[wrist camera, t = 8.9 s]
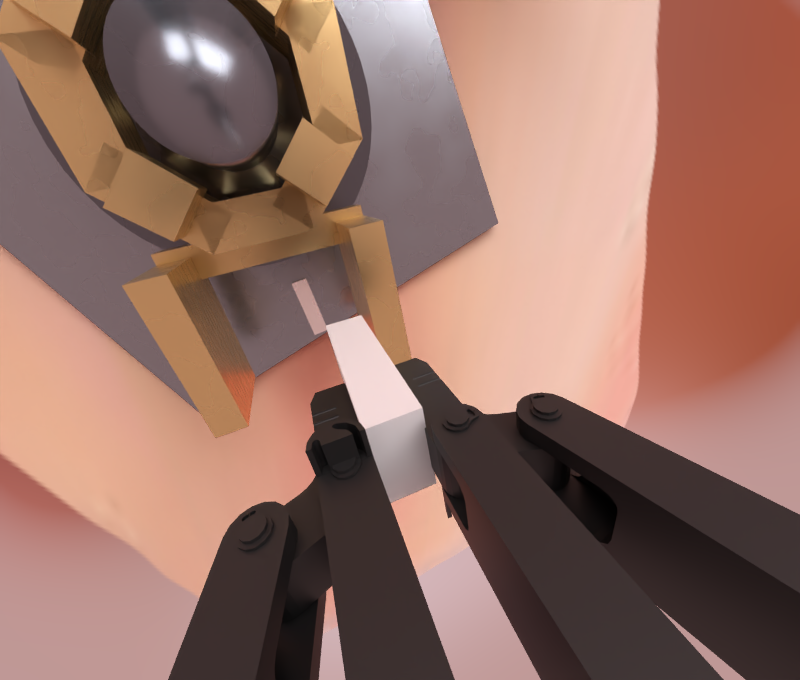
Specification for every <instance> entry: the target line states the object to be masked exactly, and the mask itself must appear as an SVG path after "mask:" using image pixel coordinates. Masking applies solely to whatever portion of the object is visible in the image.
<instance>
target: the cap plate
mask: <svg viewBox="0 0 800 680" xmlns="http://www.w3.org/2000/svg"><path fill="white" fill-rule="evenodd" d="M3 1H4V0H0V11H1V7H2V4H3ZM333 1H334V5H335V10H336V14H337V19H338V24H339V29H340V33H341V38H342V43H343V48H344V52H345V57H346V62H347V67H348V71H349V76H350V81H351V86H352V91H353V95H354V100H355V105H356V110H357V114H358V119H359V124H360V129H361V133H362V138H363V140H362V141H361V143H360V145H359V146H358V148H357V150H356V152H355V154H354V157H353V159H352V161H351V162H350V164H349V166H348V168H347V170H346V172H345V174H344V176H343V178H342V179H341V181H340V183H339V185H338V187H337V189H336V191H335V193H334V194H333V196H332V198H331V200H330V202H329V204H328V206H327V207H326V209H325V211H324V212H326V211H330V210H334V209H339V208H343V207H347V206H351V205H361V209H362V213H363V215H364V216H368V217H372V218H376V219H380V220H383V223H384V228H385V232H386V237H387V242H388V247H389V252H390V257H391V262H392V266H393V271H394V276H395V281H396V286H397V287H398V286H400V285H402V284H403V283H405V282H406V281H408V280H410V279H411V278H413V277H414V276H416V275H417V274H419V273H421V272H422V271H424V270H425V269H427V268H428V267H430V266H432V265H433V264H435V263H436V262H438V261H439V260H441V259H443V258H444V257H446V256H447V255H449V254H450V253H452V252H454V251H455V250H457V249H458V248H460V247H461V246H463V245H465V244H466V243H468V242H469V241H471V240H472V239H474V238H476V237H477V236H479V235H480V234H482V233H483V232H485V231H487V230H488V229H490V228H491V227H493V226H494V225H496V224H498V220H497V217H496V214H495V211H494V208H493V205H492V201H491V198H490V195H489V192H488V189H487V186H486V183H485V179H484V176H483V173H482V170H481V167H480V164H479V160H478V157H477V154H476V151H475V148H474V145H473V142H472V138H471V135H470V132H469V129H468V126H467V123H466V119H465V116H464V113H463V110H462V107H461V104H460V101H459V97H458V94H457V91H456V88H455V85H454V82H453V78H452V75H451V72H450V69H449V66H448V63H447V60H446V56H445V53H444V50H443V47H442V44H441V41H440V37H439V34H438V31H437V28H436V25H435V22H434V19H433V15H432V12H431V9H430V6H429V3H428V0H333ZM103 51H104V58H105V63H106V67H107V71H108V74H109V77H110V80H111V82H112V84H113V87H114V89H115V91H116V93H117V95H118V97H119V98H120V100H121V102H122V104H123V105H124V107H125V108H126V109H127V111H128V112H129V114H130V116H131V118H132V120H133V122H134V125H135V127H136V129H137V131H138V133H139V135H140V137H141V139H142V141H143V143H144V145H145V147H146V149H147V152H148V154H149V156H150V157H152V158H154V159H156V160H157V161H159V162H161V163H163V164H164V165H166V166H168V167H170V168H171V169H173V170H175V171H177V172H178V173H180V174H182V175H184V176H185V177H187V178H189V179H191V180H192V181H194V182H196V183H198V184H199V185H201V186H203V187H205V188H206V189H207V191H206V193H207V194H209V195H211V196H212V197H214V198H216V199H218V200H219V201H223V200H228V199H232V198H237V197H242V196H246V195H251V194H256V193H260V192H265V191H270V190H274V189H279V188H282V186H283V184H284V182H285V180H283V179H282V178H280V177H279V176H277V175H276V171H277V169H278V167H279V165H280V163H281V161H282V159H283V157H284V155H285V153H286V151H287V149H288V147H289V144H290V142H291V140H292V138H293V136H294V134H295V132H296V130H297V128H298V126H299V124H300V122H301V120H302V118H304V117H303V113H302V110H301V106H300V103H299V99H298V95H297V92H296V88H295V84H294V81H293V77H292V73H291V70H290V66H289V63H288V59H286V58H285V57H284V56H283V55H282V54H281V53H279V52H278V51H277V50H276V49H275V48H273V47H272V46H271V45H270V44H269V43H267V42H266V41H265V40H264V39H263V38H261V37H260V36H259V35H258V34H257V33H256V31H255V30H254V29H253V27H252V26H251V25H250V23H249V22H248V21H247V19H246V18H245V17H244V16H243V15H242V14H241V13H240V12H239V11H238V10H237V9H236V8H235V7H234V6H233V5H232V4H231V3H230V2H229V1H227V0H114V1H113V3H112V4H111V6H110V9H109V11H108V13H107V16H106V20H105V24H104V30H103ZM104 203H105V202H104V201H102V200H99V199H97V198H95V197H93V196H91V195H89V194H87V193H85V192H84V190H83V188H82V186H81V185H80V183H79V181H78V180H77V178H76V176H75V175H74V173H73V171H72V169H71V168H70V166H69V164H68V163H67V161H66V159H65V158H64V156H63V154H62V152H61V151H60V149H59V147H58V146H57V144H56V142H55V141H54V139H53V137H52V136H51V134H50V132H49V130H48V129H47V127H46V125H45V124H44V122H43V120H42V119H41V117H40V115H39V113H38V112H37V110H36V108H35V107H34V105H33V103H32V102H31V100H30V98H29V96H28V95H27V93H26V91H25V90H24V88H23V86H22V85H21V83H20V81H19V79H18V78H17V76H16V74H15V73H14V71H13V69H12V68H11V66H10V64H9V62H8V61H7V59H6V57H5V56H4V54H3V52H2V51H1V49H0V244H1V245H2V246H3V247H4V248H5V249H6V250H8V251H9V252H10V253H11V254H12V255H14V256H15V257H16V258H17V259H18V260H20V261H21V262H22V263H23V264H24V265H25V266H27V267H28V268H29V269H30V270H31V271H33V272H34V273H35V274H36V275H37V276H38V277H40V278H41V279H42V280H43V281H44V282H46V283H47V284H48V285H49V286H50V287H51V288H53V289H54V290H55V291H56V292H57V293H59V294H60V295H61V296H62V297H63V298H64V299H66V300H67V301H68V302H69V303H70V304H72V305H73V306H74V307H75V308H76V309H77V310H79V311H80V312H81V313H82V314H83V315H85V316H86V317H87V318H88V319H89V320H91V321H92V322H93V323H94V324H95V325H96V326H98V327H99V328H100V329H101V330H102V331H104V332H105V333H106V334H107V335H108V336H109V337H111V338H112V339H113V340H114V341H115V342H117V343H118V344H119V345H120V346H121V347H122V348H124V349H125V350H126V351H127V352H128V353H130V354H131V355H132V356H133V357H134V358H135V359H137V360H138V361H139V362H140V363H141V364H143V365H144V366H145V367H146V368H147V369H149V370H150V371H151V372H152V373H153V374H154V375H156V376H157V377H158V378H159V379H160V380H162V381H163V382H164V383H165V384H166V385H167V386H169V387H170V388H171V389H172V390H173V391H175V392H176V393H177V394H178V395H179V396H180V397H182V398H183V399H184V400H185V401H186V402H188V403H189V404H190V405H191V406H192V407H193V408H195V409H196V410H197V411H198V412H199V410H198V409H197V407H196V406H195V404H194V402H193V401H192V399H191V397H190V396H189V394H188V393H187V391H186V389H185V388H184V386H183V384H182V383H181V381H180V380H179V378H178V376H177V375H176V373H175V371H174V370H173V368H172V367H171V365H170V363H169V362H168V360H167V358H166V357H165V355H164V354H163V352H162V350H161V349H160V347H159V345H158V344H157V342H156V341H155V339H154V337H153V336H152V334H151V333H150V331H149V329H148V328H147V326H146V324H145V323H144V321H143V320H142V318H141V316H140V315H139V313H138V311H137V310H136V308H135V307H134V305H133V303H132V302H131V300H130V298H129V297H128V295H127V294H126V292H125V290H124V289H123V287H122V285H124V284H125V283H127V282H129V281H131V280H132V279H134V278H136V277H138V276H139V275H141V274H143V273H144V272H146V271H148V270H150V269H151V268H153V267H155V266H156V264H155V262H154V261H153V259H152V257H151V254H153V253H155V252H158V251H161V250H165V249H169V248H173V247H178V246H182V245H186V244H190V243H188V242H186V241H184V240H182V239H179V240H177V241H175V242H173V241H171V240H169V239H167V238H165V237H163V236H161V235H158V234H156V233H154V232H152V231H150V230H148V229H146V228H144V227H142V226H140V225H138V224H136V223H133V222H131V221H129V220H127V219H125V218H123V217H121V216H119V215H117V214H115V213H113V212H111V211H108V210H106V209H104V208H103V206H104ZM209 280H210V282H211V285H212V287H213V289H214V291H215V293H216V295H217V297H218V299H219V301H220V303H221V305H222V307H223V310H224V312H225V314H226V316H227V318H228V320H229V322H230V324H231V326H232V328H233V330H234V332H235V334H236V337H237V339H238V341H239V343H240V345H241V347H242V349H243V351H244V353H245V355H246V357H247V359H248V361H249V364H250V366H251V368H252V370H253V372H254V374H255V377H257V376H258V375H260V374H262V373H263V372H265V371H266V370H268V369H269V368H271V367H273V366H274V365H276V364H277V363H279V362H280V361H282V360H284V359H285V358H287V357H288V356H290V355H291V354H293V353H295V352H296V351H298V350H299V349H301V348H302V347H304V346H306V345H307V344H309V343H310V342H312V341H314V340H315V339H317V338H318V337H320V336H321V335H323V334H325V333H326V332H327V329H326V325H330V324H333V323H336V322H340V321H343V320H346V319H348V318H350V317H351V316H353V315H354V314H356V313H357V310H356V306H355V302H354V299H353V295H352V291H351V288H350V284H349V281H348V277H347V273H346V270H345V266H344V262H343V259H342V255H341V251H340V248H339V244H337V245H333V246H329V247H325V248H322V249H318V250H314V251H310V252H306V253H302V254H298V255H295V256H291V257H287V258H283V259H279V260H275V261H271V262H268V263H264V264H260V265H256V266H252V267H248V268H244V269H240V270H237V271H233V272H229V273H225V274H221V275H217V276H213V277H210V278H209ZM199 413H200V412H199Z"/></svg>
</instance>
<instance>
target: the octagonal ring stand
mask: <svg viewBox="0 0 800 680" xmlns="http://www.w3.org/2000/svg"><path fill="white" fill-rule="evenodd" d="M113 1H114V0H4V1H3V4H2V7H1V11H0V49H1V51H2V52H3V54H4V56H5V57H6V59H7V61H8V62H9V64H10V66H11V68H12V69H13V71H14V73H15V74H16V76H17V78H18V79H19V81H20V83H21V85H22V86H23V88H24V90H25V91H26V93H27V95H28V96H29V98H30V100H31V102H32V103H33V105H34V107H35V108H36V110H37V112H38V113H39V115H40V117H41V119H42V120H43V122H44V124H45V125H46V127H47V129H48V130H49V132H50V134H51V136H52V137H53V139H54V141H55V142H56V144H57V146H58V147H59V149H60V151H61V152H62V154H63V156H64V158H65V159H66V161H67V163H68V164H69V166H70V168H71V169H72V171H73V173H74V175H75V176H76V178H77V180H78V181H79V183H80V185H81V186H82V188H83V190H84V192H85V193H87V194H89V195H91V196H93V197H95V198H97V199H99V200H102V201H104V202H105V203H104V206H103V208H104V209H106V210H108V211H111V212H113V213H115V214H117V215H119V216H121V217H123V218H125V219H127V220H129V221H131V222H133V223H136V224H138V225H140V226H142V227H144V228H146V229H148V230H150V231H152V232H154V233H156V234H158V235H161V236H163V237H165V238H167V239H169V240H171V241H173V242H175V241H177V240H179V239H182V240H184V241H186V242H188V243H190V244H186V245H182V246H178V247H173V248H169V249H165V250H161V251H158V252H155V253H153V254H151V257H152V259H153V261H154V262H155V264H156V266H155V267H153V268H151V269H150V270H148V271H146V272H144V273H143V274H141V275H139V276H138V277H136V278H134V279H132V280H131V281H129V282H127V283H125V284H124V285H122V287H123V289H124V290H125V292H126V294H127V295H128V297H129V298H130V300H131V302H132V303H133V305H134V307H135V308H136V310H137V311H138V313H139V315H140V316H141V318H142V320H143V321H144V323H145V324H146V326H147V328H148V329H149V331H150V333H151V334H152V336H153V337H154V339H155V341H156V342H157V344H158V345H159V347H160V349H161V350H162V352H163V354H164V355H165V357H166V358H167V360H168V362H169V363H170V365H171V367H172V368H173V370H174V371H175V373H176V375H177V376H178V378H179V380H180V381H181V383H182V384H183V386H184V388H185V389H186V391H187V393H188V394H189V396H190V397H191V399H192V401H193V402H194V404H195V406H196V407H197V409H198V410H199V412H200V414H201V415H202V417H203V419H204V420H205V422H206V423H207V425H208V427H209V428H210V430H211V432H212V433H213V435H214V436H215V438H217V437H220V436H223V435H225V434H228V433H231V432H234V431H237V430H239V429H242V428H245V427H248V426H249V419H250V411H251V404H252V396H253V389H254V381H255V374H254V372H253V370H252V368H251V366H250V364H249V361H248V359H247V357H246V355H245V353H244V351H243V349H242V347H241V345H240V343H239V341H238V339H237V337H236V334H235V332H234V330H233V328H232V326H231V324H230V322H229V320H228V318H227V316H226V314H225V312H224V310H223V307H222V305H221V303H220V301H219V299H218V297H217V295H216V293H215V291H214V289H213V287H212V285H211V282H210V280H209V278H210V277H213V276H217V275H221V274H225V273H229V272H233V271H237V270H240V269H244V268H248V267H252V266H256V265H260V264H264V263H268V262H271V261H275V260H279V259H283V258H287V257H291V256H295V255H298V254H302V253H306V252H310V251H314V250H318V249H322V248H325V247H329V246H333V245H337V244H339V248H340V251H341V255H342V259H343V262H344V266H345V270H346V273H347V277H348V281H349V284H350V288H351V291H352V295H353V299H354V302H355V306H356V310H357V313H358V316H360V315H362V317H363V319H364V320H365V322H366V323H367V325H368V326H369V328H370V329H371V331H372V332H373V334H374V335H375V337H376V338H377V340H378V341H379V343H380V344H381V346H382V347H383V349H384V350H385V352H386V353H387V355H388V356H389V358H390V359H391V361H392V362H393V364H394V365H396V364H399V363H402V362H405V361H408V360H411V354H410V349H409V344H408V339H407V335H406V330H405V325H404V320H403V315H402V310H401V305H400V301H399V296H398V291H397V286H396V281H395V276H394V271H393V266H392V262H391V257H390V252H389V247H388V242H387V237H386V232H385V228H384V223H383V220H380V219H376V218H372V217H368V216H364V215H363V213H362V209H361V205H351V206H347V207H343V208H339V209H334V210H330V211H326V212H324V211H325V209H326V207H327V206H328V204H329V202H330V200H331V198H332V196H333V194H334V193H335V191H336V189H337V187H338V185H339V183H340V181H341V179H342V178H343V176H344V174H345V172H346V170H347V168H348V166H349V164H350V162H351V161H352V159H353V157H354V154H355V152H356V150H357V148H358V146H359V145H360V143H361V141H362V140H363V138H362V133H361V129H360V124H359V119H358V114H357V110H356V105H355V100H354V95H353V91H352V86H351V81H350V76H349V71H348V67H347V62H346V57H345V52H344V48H343V43H342V38H341V33H340V29H339V24H338V19H337V14H336V10H335V5H334V1H333V0H227V1H229V2H230V3H231V4H232V5H233V6H234V7H235V8H236V9H237V10H238V11H239V12H240V13H241V14H242V15H243V16H244V17H245V18H246V19H247V21H248V22H249V23H250V25H251V26H252V27H253V29H254V30H255V31H256V33H257V34H258V35H259V36H260V37H261V38H263V39H264V40H265V41H266V42H267V43H269V44H270V45H271V46H272V47H273V48H275V49H276V50H277V51H278V52H279V53H281V54H282V55H283V56H284V57H285V58H286V59H288V63H289V66H290V70H291V73H292V77H293V81H294V84H295V88H296V92H297V95H298V99H299V103H300V106H301V110H302V113H303V117H304V118H302V120H301V122H300V124H299V126H298V128H297V130H296V132H295V134H294V136H293V138H292V140H291V142H290V144H289V147H288V149H287V151H286V153H285V155H284V157H283V159H282V161H281V163H280V165H279V167H278V169H277V171H276V175H277V176H279V177H280V178H282V179H283V180H285V182H284V184H283V186H282V188H279V189H274V190H270V191H265V192H260V193H256V194H251V195H246V196H242V197H237V198H232V199H228V200H223V201H219V200H218V199H216V198H214V197H212V196H211V195H209V194H207V193H206V191H207V189H206V188H205V187H203V186H201V185H199V184H198V183H196V182H194V181H192V180H191V179H189V178H187V177H185V176H184V175H182V174H180V173H178V172H177V171H175V170H173V169H171V168H170V167H168V166H166V165H164V164H163V163H161V162H159V161H157V160H156V159H154V158H152V157H150V156H149V154H148V152H147V149H146V147H145V145H144V143H143V141H142V139H141V137H140V135H139V133H138V131H137V129H136V127H135V125H134V122H133V120H132V118H131V116H130V114H129V112H128V111H127V109H126V108H125V107H124V105H123V104H122V102H121V100H120V98H119V97H118V95H117V93H116V91H115V89H114V87H113V84H112V82H111V80H110V77H109V74H108V71H107V67H106V63H105V58H104V51H103V30H104V24H105V20H106V16H107V13H108V11H109V9H110V6H111V4H112V3H113Z"/></svg>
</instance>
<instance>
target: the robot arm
mask: <svg viewBox="0 0 800 680" xmlns="http://www.w3.org/2000/svg"><path fill="white" fill-rule="evenodd" d="M326 329H327V332H328V335H329V338H330V341H331V344H332V348H333V351H334V354H335V357H336V360H337V363H338V366H339V370H340V373H341V376H342V379H343V382H344V383H343V384H341V385H338V386H335V387H332V388H329V389H326V390H323V391H320V392H317V393H315V395H314V397H313V400H312V402H311V404H310V405H311V411H312V416H313V417H312V418H313V424H314V431H315V432H314V433H313V434H312V436H311V437H310V439H309V440H308V442H307V446H306V454H307V456H308V458H309V461H310V463H311V465H312V467H313V470H314V472H315V474H316V476H315V478H314V480H313V482H312V483H311V484H310V485H309V486H308V488H307V489H306V490H304V491H303V492H302V493H301V494H300V495H298V496H297V497H296V498H294V499H293V500H291V501H290V502H289V503H287V504H286V505H284V506H283V505H281V504H279V503H277V502H263V503H260V504H258V505H255V506H252V507H251V508H249V509H248V510H246V511H245V512H243V513H242V514H240V515H239V516H238V518H237V519H236V520H235V521H234V522H233V523H232V524H231V525H230V526H229V528H228V530H227V532H226V533H225V535H224V537H223V539H222V541H221V544H220V546H219V549H218V552H217V554H216V557H215V559H214V562H213V565H212V567H211V570H210V572H209V575H208V578H207V580H206V583H205V585H204V588H203V591H202V593H201V596H200V598H199V601H198V604H197V606H196V609H195V612H194V614H193V617H192V619H191V622H190V624H189V627H188V630H187V632H186V635H185V637H184V640H183V642H182V645H181V648H180V650H179V653H178V656H177V658H176V661H175V663H174V666H173V669H172V671H171V674H170V676H169V679H168V680H318V679H319V668H320V656H321V646H322V635H323V624H324V613H325V602H326V591H327V590H328V589H329V588H330V587H331V586H333V593H334V601H335V608H336V615H337V622H338V628H339V636H340V642H341V650H342V657H343V664H344V671H345V678H346V680H455V679H454V677H453V674H452V671H451V669H450V666H449V663H448V660H447V657H446V655H445V652H444V649H443V646H442V644H441V641H440V638H439V636H438V633H437V630H436V628H435V624H434V622H433V619H432V616H431V613H430V611H429V608H428V605H427V602H426V599H425V597H424V594H423V591H422V589H421V586H420V583H419V581H418V577H417V575H416V572H415V569H414V566H413V564H412V561H411V558H410V555H409V553H408V550H407V547H406V544H405V542H404V539H403V536H402V533H401V531H400V528H399V525H398V522H397V520H396V517H395V514H394V511H393V509H392V506H391V503H392V502H394V501H396V500H399V499H401V498H403V497H406V496H408V495H410V494H413V493H415V492H417V491H419V490H422V489H424V488H426V487H429V486H431V485H433V484H436V478H435V474H436V476H437V477H438V479H439V481H440V483H441V485H442V490H443V496H444V501H445V507H446V512H447V515H448V518H450V517H452V514H453V516H454V518H455V520H456V521H457V523H458V525H459V527H460V529H461V531H462V533H463V535H464V536H465V538H466V540H467V542H468V544H469V546H470V547H471V550H472V551H473V553H474V555H475V557H476V559H477V561H478V563H479V565H480V566H481V568H482V570H483V572H484V574H485V576H486V578H487V580H488V581H489V583H490V585H491V587H492V589H493V591H494V593H495V594H496V596H497V598H498V600H499V602H500V604H501V606H502V607H503V609H504V611H505V613H506V615H507V617H508V619H509V620H510V623H511V624H512V626H513V628H514V630H515V632H516V634H517V636H518V638H519V639H520V641H521V643H522V645H523V647H524V649H525V650H526V653H527V654H528V656H529V658H530V660H531V661H532V664H533V666H534V667H535V669H536V671H537V673H538V675H539V677H540V679H541V680H723V679H722V678H721V676H720V675H719V674H718V673H717V672H716V671H715V670H714V669H713V667H711V666H710V664H709V663H708V662H707V661H706V660H705V659H704V658H703V657H702V655H701V654H700V653H699V652H698V651H697V650H696V649H695V648H694V647H693V645H692V644H691V643H690V642H689V641H688V640H687V639H686V638H685V637H684V635H683V634H682V633H681V632H680V631H679V630H678V629H677V628H676V627H675V625H674V624H673V623H672V622H671V621H670V620H669V619H668V618H667V617H666V616H665V615H664V614H663V612H662V611H661V610H660V609H662V610H663V611H664V612H665V613H667V614H668V615H669V616H670V617H671V618H672V619H674V620H675V621H676V622H677V623H678V624H680V625H681V626H682V627H683V628H684V629H686V630H687V631H688V632H689V633H690V634H692V635H693V636H694V637H695V638H696V639H698V640H699V641H700V642H701V643H702V644H704V645H705V646H706V647H707V648H708V649H710V650H711V651H712V652H714V654H716V655H717V656H718V657H719V658H720V659H722V660H723V661H724V662H725V663H726V664H728V665H729V666H730V667H731V668H733V669H734V670H735V671H736V672H737V673H738V674H740V675H741V676H742V677H743V678H744V679H746V680H800V515H799V514H797V513H795V512H793V511H791V510H789V509H787V508H785V507H783V506H781V505H779V504H777V503H775V502H773V501H771V500H769V499H767V498H765V497H763V496H761V495H759V494H757V493H755V492H753V491H751V490H749V489H747V488H745V487H743V486H741V485H739V484H737V483H735V482H733V481H731V480H729V479H726V478H724V477H722V476H720V475H718V474H716V473H714V472H712V471H710V470H708V469H706V468H704V467H702V466H700V465H698V464H696V463H694V462H692V461H690V460H688V459H686V458H684V457H682V456H680V455H678V454H676V453H674V452H672V451H670V450H668V449H666V448H664V447H662V446H660V445H658V444H655V443H654V442H652V441H650V440H648V439H645V438H643V437H641V436H639V435H637V434H635V433H633V432H631V431H629V430H627V429H625V428H623V427H621V426H619V425H617V424H615V423H613V422H611V421H609V420H607V419H605V418H603V417H601V416H599V415H597V414H595V413H593V412H591V411H589V410H587V409H585V408H583V407H581V406H579V405H577V404H575V403H573V402H571V401H569V400H567V399H565V398H563V397H560V396H557V395H554V394H549V393H534V394H530V395H527V396H525V397H523V398H522V399H521V400H520V401H519V402H518V403H517V408H516V412H510V413H502V414H483V413H482V412H481V411H479V410H478V409H476V408H475V407H473V406H470V405H467V404H462V403H461V402H460V401H459V400H458V399H457V397H456V396H455V395H454V394H453V393H452V392H451V390H450V389H449V388H448V387H447V386H446V385H445V383H444V382H443V381H442V380H441V379H440V378H439V376H438V375H437V374H436V373H434V371H433V369H432V368H431V367H430V366H429V365H428V364H427V363H426V362H424V361H421V360H419V359H417V358H414V359H411V360H408V361H405V362H402V363H399V364H396V365H394V364H393V362H392V361H391V359H390V358H389V356H388V355H387V353H386V352H385V350H384V349H383V347H382V346H381V344H380V343H379V341H378V340H377V338H376V337H375V335H374V334H373V332H372V331H371V329H370V328H369V326H368V325H367V323H366V322H365V320H364V319H363V317H362V315H360V316H356V317H353V318H350V319H346V320H343V321H340V322H336V323H333V324H330V325H326ZM434 472H435V473H434ZM451 512H452V513H451ZM656 605H657V606H658V607H659V608H660V609H659V608H658V607H657V606H656Z"/></svg>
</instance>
